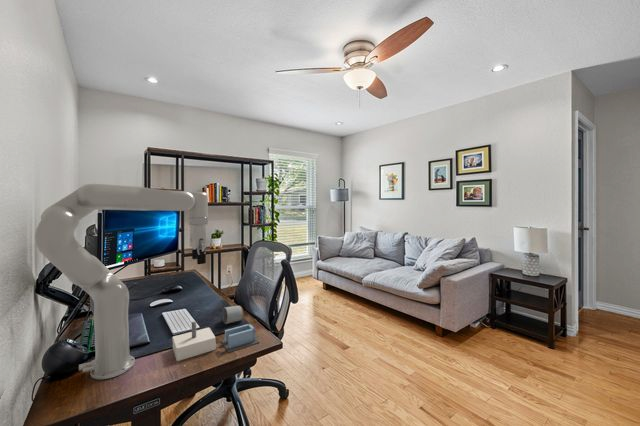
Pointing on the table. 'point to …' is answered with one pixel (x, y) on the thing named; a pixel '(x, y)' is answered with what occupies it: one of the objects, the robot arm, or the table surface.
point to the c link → (239, 335)
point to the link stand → (193, 343)
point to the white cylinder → (232, 314)
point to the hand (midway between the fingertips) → (198, 261)
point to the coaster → (239, 345)
